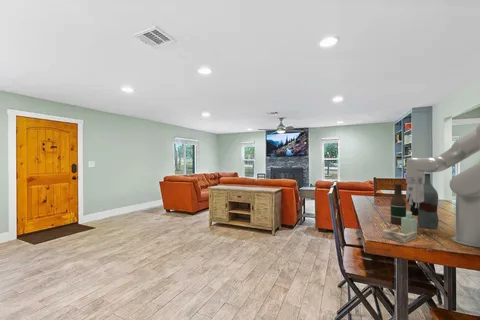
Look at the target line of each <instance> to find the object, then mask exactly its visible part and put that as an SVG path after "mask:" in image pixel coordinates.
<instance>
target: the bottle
mask: <svg viewBox="0 0 480 320" xmlns="http://www.w3.org/2000/svg"><path fill="white" fill-rule="evenodd" d="M400 226H401V228H400V229H401V232H400V233H402V234H407V233H409V232H412V231H415V232H417V233H418V219H417V218H416V217H413V215H412V212H411V211H410V210H406V217H403V218H401V225H400Z"/></svg>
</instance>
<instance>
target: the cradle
mask: <svg viewBox="0 0 480 320" xmlns="http://www.w3.org/2000/svg"><path fill="white" fill-rule="evenodd" d="M382 238H384V239H387V240H391V241H396V242H399V243H403V244H405V243H408V242H410V241H413V240H416V239H417V238H418V231H417V232H415V231H412V232H409V233H407V234H402V233H401V232H399V227H396V226H395V227H392V228H389V229H383V230H382Z"/></svg>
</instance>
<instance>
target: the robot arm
mask: <svg viewBox="0 0 480 320" xmlns="http://www.w3.org/2000/svg"><path fill="white" fill-rule="evenodd" d="M478 152H480V123H478V125H477V126H476V129H474V130H472V131H471V132H469V133H467V134H465V135H464V136H461V138H458V139H457V140H456V141H454V143H453V144H452V146H451V147H449V148H448V150H446V151H444V152H442V153H440V154H439V155H438V156H437V155H436V156H433V157H432V156H431V157H408V158H406V165H405V167H406V172H405V178H406V179H405V183H406V184H407V185H406V193H405V194H406V196H405V199H406V201H405V202H406V203H407V202H408V205H409V207H410V209H409V211H411V212H412V216H413V217H414V216H416V217H418V215H419V203H421V202H423V201H424V187H423V184H424V174H425V173H439V172H440V173H441V172H443V171H445V170H448V169H450V168H451V167H453V166H455V165H457V164H459V163H460V162H462V161H464V160H466V159H467V158H469V157H471V156H472V155H475V154H476V153H478ZM449 189H450V190H451V191H452V192H453V193H454V194H456V195H455V235H453V236H451V241H453V242H455V243H457V244H460V245H463V246H468V247H473V248H480V162H478V163H475V164H473V165H471V167H468V168H467V169H465V170H464V171H461V172H459V173H458V174H456V175H454V176H453V177H452V178H451V179H450V181H449Z"/></svg>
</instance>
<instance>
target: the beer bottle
mask: <svg viewBox="0 0 480 320" xmlns="http://www.w3.org/2000/svg"><path fill="white" fill-rule="evenodd" d="M402 190H403V189H402V183H400V182H395V183H394V191H393V192H394V194H393V197H392V198H391V200H390V223H391V224H392V225H396V226H401V218H403V217H406V211H407V201H405V199H404V198H403V191H402Z"/></svg>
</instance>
